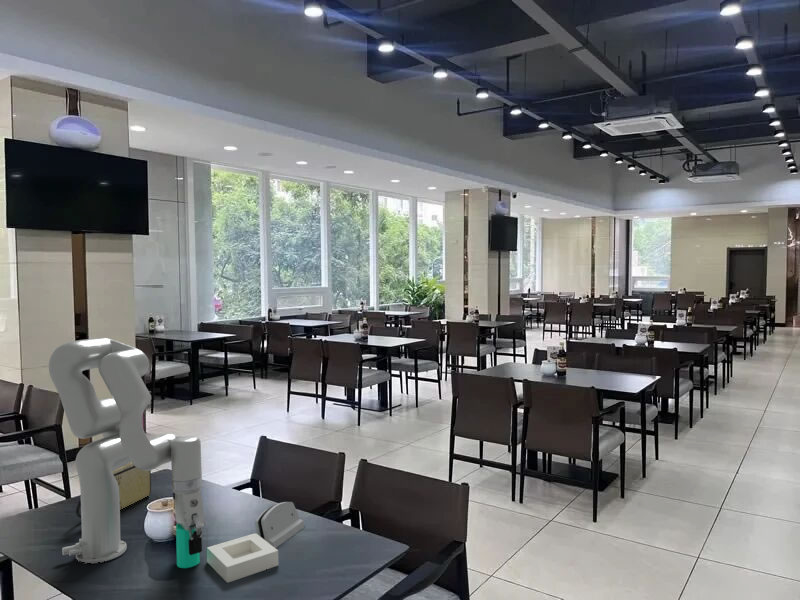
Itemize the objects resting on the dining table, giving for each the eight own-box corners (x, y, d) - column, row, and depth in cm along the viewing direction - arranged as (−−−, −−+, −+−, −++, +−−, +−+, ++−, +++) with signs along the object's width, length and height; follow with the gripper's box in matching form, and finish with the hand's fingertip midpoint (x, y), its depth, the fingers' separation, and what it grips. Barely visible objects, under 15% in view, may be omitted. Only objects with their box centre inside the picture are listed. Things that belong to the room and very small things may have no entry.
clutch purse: (138, 493, 207) (137, 452, 206) (155, 495, 205) (154, 454, 204) (69, 527, 178) (68, 479, 178) (87, 530, 176) (86, 481, 176)
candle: (180, 557, 157) (179, 514, 157) (202, 556, 158) (201, 513, 157) (173, 568, 151) (172, 523, 151) (196, 567, 152) (195, 522, 151)
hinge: (273, 549, 162) (263, 514, 163) (260, 552, 163) (250, 517, 164) (305, 526, 177) (296, 494, 178) (293, 529, 179) (283, 497, 180)
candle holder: (227, 582, 143) (227, 567, 143) (207, 562, 154) (206, 547, 154) (278, 565, 152) (278, 550, 152) (255, 546, 163) (255, 533, 163)
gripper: (212, 488, 149) (214, 553, 150) (190, 472, 163) (192, 532, 163) (183, 495, 145) (185, 563, 145) (162, 479, 158) (165, 540, 159)
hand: (189, 546), depth 154 cm, fingers open, 9 cm apart
